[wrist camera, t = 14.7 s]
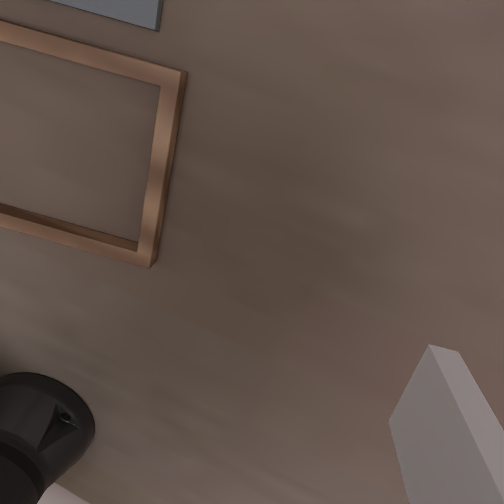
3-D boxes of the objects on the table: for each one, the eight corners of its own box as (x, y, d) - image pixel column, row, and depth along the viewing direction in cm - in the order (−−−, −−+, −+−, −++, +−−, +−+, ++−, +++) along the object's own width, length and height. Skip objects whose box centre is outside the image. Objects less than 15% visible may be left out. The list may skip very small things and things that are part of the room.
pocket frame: (155, 260, 42) (149, 269, 40) (-40, 204, 42) (-56, 210, 41) (187, 72, 34) (181, 71, 32) (-54, 4, 34) (-74, -1, 33)
